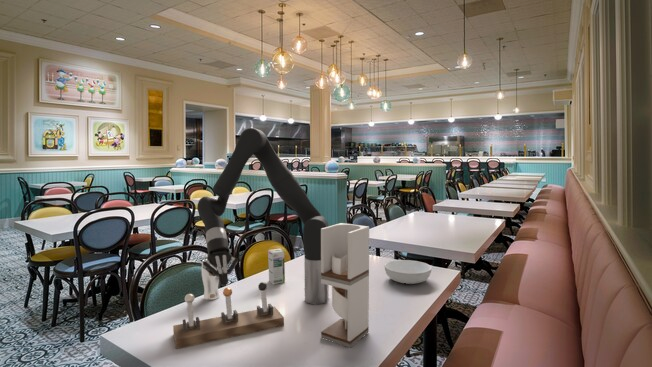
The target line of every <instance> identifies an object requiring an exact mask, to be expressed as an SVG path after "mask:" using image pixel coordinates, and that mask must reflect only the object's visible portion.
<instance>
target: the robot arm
mask: <svg viewBox="0 0 652 367" xmlns="http://www.w3.org/2000/svg"><path fill="white" fill-rule="evenodd" d="M253 155H254V157H255V158H256V159H257V160H258V161H259V163H260V164H261V166H262V168H263V169H264V172H265V174H266V177H267V180H268V182H269V183H270V185H271V187H272V188H273V190H274V191H275V192H276V194H277V195H278V196H279V197H280V198H281V200H282V201H283V202H284V203H285V204H286V205H287V206H289V207H290V208H291V209H292V210H293V211H294V212H295V213H296V214H297V216H298V217H299V220H301V222H302V224H303V231H302V241H303V243H302V244H303V247H302V248H303V253H304V255H303V256H304V302H305V303H307V304H309V305H310V304H311V305H322V304H328V303H329V296H330V295H329V294H330V293H329V287H330V285H326V284H322V283H321V229H322V228H325V227H329V223H328V221H327V220H326V218H325V217H324V216H323V215H322V214H321V213H320V211H319V210H318V209H317V208H316V207H315V206H314V205H313V203H312V202H311V200H310V199H309V197H308V195H307V194H306V192H305V191H304V189H303V187H302V186H301V185H300V182H299V181H298V180H297V179H296V177H295V176H294V174H293V173H292V171H291V170H290V169H289V167H288V166H287V165H286V163H284V161H282V159H281V158H280V157H279V155H278V154H277V153H276V151H275V149H274V147H273V146H272V144H271V143H270V141H269V139H268V137H267V135H266V134H265V133H264V132H263V131H262V130H261V129H259V128H255V127H253V128H252V127H248V128H246V129H244V130H243V131H242V132H241V134H240V135H239V138H238V140H237V143H236V146H235V148H234V149H233V151H232V154H231V156H230V158H229V160H228V162H227V164H226V166H225V168H223V171H222V172H221V174H220V176H218V179H217V180H216V181H215V183H214V185H213V186H212V192H213V193H214V194H215V195H217V196H218V197H217V199H215V198H213V197H210V196H202V197H201V198H200V199H199V200H198V202H197V206H196V207H197V212H198V215H199V217H200V219H201V222H202V223H203V225H204V230H205V242H206V243H205V244H206V248H207V254H208V256H207V259H208V260H207V259H206V260H207V261H206V262H203V266H202V265H201V268H202V267H203V268H204V269H205V270H207V271H208V272H209V273H210V274H211V275H212V276H218V278H219V283H218V285H220V286H221V287H226V286H228V283H229V277H228V275H231V274H232V272H233V271H234V269H235V267H236V266H237V264H238V263H239V262H238V261H239V258H238V257H234V256H233V255H232V254H231V251H230V246H229V242H228V235H227V232H226V229H225V224H224V220H223V218H222V217H221V216H222V215H223V214H224V213H225V211H226V209H227V204H228V201H229V200H230V199H229V198H230V196H231V193H232V192H233V190H234V189H235V187H236V186H237V184H238V182H239V180H240V178H241V175H242V173H243V171H244V168H245V166H246V164H247V163H248V161H249V160H250V158H251V157H252V156H253ZM230 262H231V263H230ZM210 264H211V265H212V266H214V267H215V268H216V270H215V269H214V268H213V267H212V266H210ZM229 264H230V265H229ZM228 265H229V267H228V268H227V266H228Z"/></svg>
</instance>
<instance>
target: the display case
mask: <svg viewBox="0 0 652 367" xmlns="http://www.w3.org/2000/svg"><path fill="white" fill-rule="evenodd" d="M321 283H322V284H326V285H329V286H331V306H332V309H333V311H334V313H336V314H337V316H338V317H340V319H338V320H337V321H335V322H334V323H332V324H330V325H329V326H328V327H326V328H325V329H323V330H322V331H320V335H321V336H320V338H321V339H323V338H324V339H323V340H326V339H327V340H326V341H329V340H330V341H329V342H332V341H333V343H334V342H335V344H337V343H338V345H340V344H341V346H343V347H345V348H349V349H351V348H352V347H353V346H354V345H355V344H357V343H358V342H360V340H362V339H363V338H364V337H365V336H367V335H368V334H369V333H368V332H369V326H370V324H369V322H370V320H369V317H370V315H369V310H370V307H369V306H370V304H369V303H370V226H368V225H367V226H366V225H360V224H352V223H345V222H340V223H336V224H333V225H328V227H325V228H322V229H321ZM367 333H368V334H367ZM366 334H367V335H366ZM364 335H365V336H364ZM363 336H364V337H363ZM362 337H363V338H362ZM361 338H362V339H361ZM356 342H357V343H356ZM350 347H351V348H350Z"/></svg>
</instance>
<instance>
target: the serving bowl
mask: <svg viewBox="0 0 652 367" xmlns="http://www.w3.org/2000/svg"><path fill="white" fill-rule="evenodd" d="M432 268H433V267H432V266H431V265H430V264H428V263H426V262H422V261H418V260H412V259H411V260H409V259H398V260H397V259H395V260H391V261H390V260H389V261H388V262H385V264H384V271H385V275H387V277H389V279H391V280H392V281H395V282H397V283H401V284H404V283H406V284H405V285H413V284H419V283H423V282H426V280H428V279H429V277H430V276H431V273H432Z"/></svg>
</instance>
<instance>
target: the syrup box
mask: <svg viewBox="0 0 652 367" xmlns="http://www.w3.org/2000/svg"><path fill="white" fill-rule="evenodd" d="M267 252H268V254H267V257H268V281H269V282H270V283H271V284H272V285H275V284H282V283H285V282H286V279H285V278H286V275H285V274H286V272H285V270H286V269H285V268H286V267H285V262H286V261H285V251H284V250H283V249H282V248H276V249H275V248H273V249H268V251H267Z"/></svg>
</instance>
